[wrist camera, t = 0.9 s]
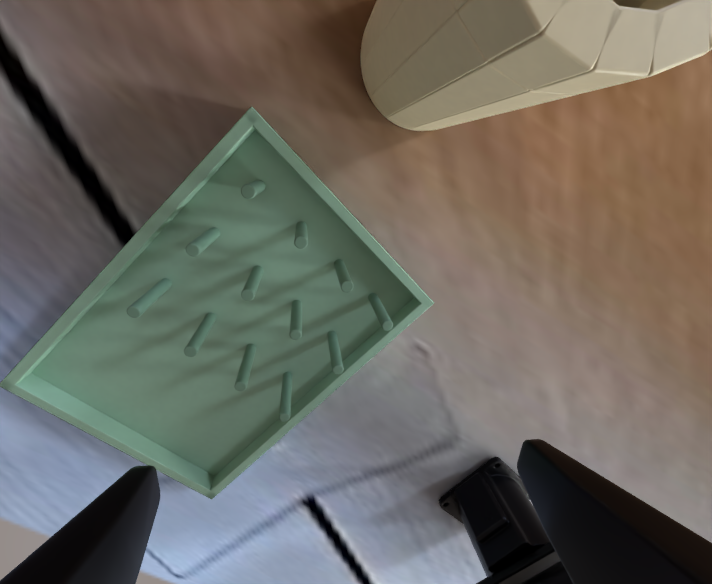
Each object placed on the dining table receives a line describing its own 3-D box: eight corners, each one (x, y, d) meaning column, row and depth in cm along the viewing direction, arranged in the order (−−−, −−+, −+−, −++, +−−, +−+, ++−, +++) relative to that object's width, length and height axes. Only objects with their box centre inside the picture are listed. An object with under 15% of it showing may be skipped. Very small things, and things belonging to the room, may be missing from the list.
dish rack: (423, 291, 22) (453, 323, 18) (218, 474, 25) (200, 542, 21) (256, 111, 17) (241, 94, 13) (25, 365, 20) (-53, 422, 16)
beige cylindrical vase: (507, 67, 18) (900, -115, 6) (414, 157, 19) (601, 149, 7) (434, -57, 16) (836, -731, 4) (332, 52, 17) (407, -221, 5)
